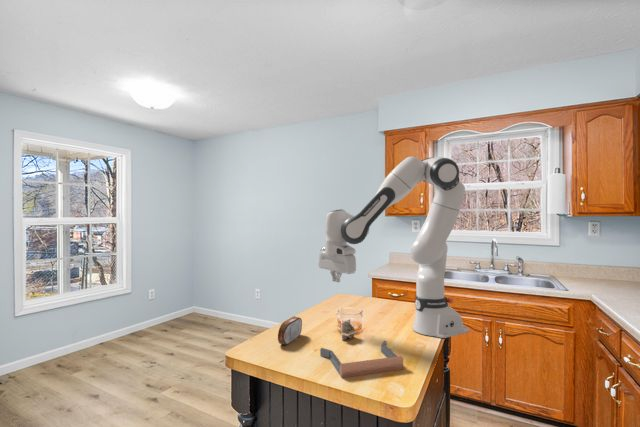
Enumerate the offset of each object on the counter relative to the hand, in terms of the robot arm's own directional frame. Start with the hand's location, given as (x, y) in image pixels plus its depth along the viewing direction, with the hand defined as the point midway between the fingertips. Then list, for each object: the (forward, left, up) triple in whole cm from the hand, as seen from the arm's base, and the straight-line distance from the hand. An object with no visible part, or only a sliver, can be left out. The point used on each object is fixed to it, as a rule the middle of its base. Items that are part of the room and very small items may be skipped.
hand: (336, 281), depth 135 cm
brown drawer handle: (0, +30, -21) cm, 36 cm away
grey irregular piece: (-2, +9, -21) cm, 23 cm away
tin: (+20, +5, -21) cm, 29 cm away
